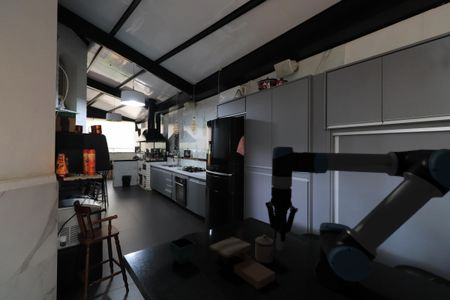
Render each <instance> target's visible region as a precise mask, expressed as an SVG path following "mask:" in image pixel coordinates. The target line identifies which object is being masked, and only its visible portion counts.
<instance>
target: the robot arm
mask: <svg viewBox="0 0 450 300" xmlns="http://www.w3.org/2000/svg"><path fill="white" fill-rule="evenodd" d="M271 156H272V157H271V158H272V159H271V161H272V163H271V193H270V196H271V198H270V200H269V201H266V202H265V204H264V205H265V207H266V209H267V213H268V221H269V227H270V228H271V229H272V230H274V239H275V249H276V250H278V251H281V250H283V249H284V242H285V241H286V237H287V236H286V235H287V234H288V233H290V232H291V230H292V226H293V224H294V221H295V218H296V214H297V213H298V211H299V208H298V207H295V206H294V205H293V202H292V197H293V196H292V195H293V194H292V193H293V192H292V191H293V189H292V186H293V173H305V174H307V173H309V174H326V173H327V172H328V171H330V172H350V173H351V172H352V173H371V174H372V173H373V174H374V173H375V174H387V175H388V176H389V177H401V178H403V180H402V181H401V182H399V184H398V185H397V186H396V187H394V189H392V190H391V192H389V194H387V195H386V196H385V197H384V198H383V199H382V200H381V201H380V202H379V203H378V204H377V205H376V206H374V208H373V209H372V210H371V211H370V212H368V213H367V215H366V216H364V218H362V219H361V220H360V221H359V222H358V223H357V224H356V225H355V226H354V227H353V228H351V227H350V226H348V225H346V224H343V223H342V224H341V223H337V222H321V223H320V225H319V229H318V231H319V236H318V238H319V239H318V240H319V243H318V258H317V261H316V264H315V266H314V268H313V276H314V279H315V280H316V281H317V282H318V284H319V283H320V284H321V285H323V286H324V287H327V288H328V289H330V290H333V291H338V292H339V291H340V292H349V291H352V290H354V289H355V287H356V285H355V284H356V283H355V282H360V281H363V280H365V279H366V278H367V277H368V276H369V275H370V274H371V270H372V269H371V267H372V265H371V263H372V262H373V261H374V260H375V259H376V258H377V257H378V256H377V255H378V254H377V252H378V251H377V249H378V248H380V246H382V244H384V243H385V242H386V241H387V240H388V239H389V238H391V237H392V236H393V234H394V233H396V231H398V230H399V229H400V228H401V227H402V226H403V225H405V224H406V223H407V222H408V221H409V220H410V219H411V218H412V217H413V216H414V215H415V214H417V213H418V212H419V211H421V209H422V208H423V207H424V206H425V205H427V203H428V202H430V200H432V199H434V198H444V197H445V196H446V195H447V194H448V193H449V192H450V149H449V148H439V149H430V148H429V149H427V148H426V149H421V148H420V149H412V150H405V151H404V150H403V151H402V150H401V151H400V150H399V151H388V152H387V153H360V152H359V153H355V152H354V153H352V152H308V151H302V152H298V151H295V150H294V148H293V146H274V147H273V149H272V155H271ZM288 211H289V214H288Z"/></svg>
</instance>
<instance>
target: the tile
mask: <svg viewBox="0 0 450 300" xmlns="http://www.w3.org/2000/svg"><path fill="white" fill-rule="evenodd" d="M233 272H234V274H236V275H237V276H239V277H240V278H241V279H243V280H244V281H245V282H246V283H248V284H250V285H251V286H252V287H253V288H255V289H256V290H260V289H262V288H263V287H265V286H267V285H269V284H271V283H273V282H274V281H275V279H276V277H275V276H276V272H275V271H273V270H271V269H269V268H268V267H266V266H264V265H263V264H262V263H260V262H258V261H257V260H255V259H252V257H251V258H250V259H248V260H245V261H244V260H242V261H241V262H238V263H236V264H234V265H233Z"/></svg>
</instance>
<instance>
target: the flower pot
mask: <svg viewBox="0 0 450 300" xmlns="http://www.w3.org/2000/svg"><path fill="white" fill-rule="evenodd" d="M195 246H196V242H195V241H193V240H191V239H189V238H187V237H186V236H184V237H180V238H178V239H174V240H172V241H170V242H169V247H170V254H171V257H172V259H173V260H174V262H175V263H177V264H179V265H180V266H181V265H184V264H186V263H188V262H189V261H190V260H191V259H192V258H193V256H194V252H195V248H196V247H195Z"/></svg>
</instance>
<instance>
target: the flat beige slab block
mask: <svg viewBox="0 0 450 300" xmlns="http://www.w3.org/2000/svg"><path fill="white" fill-rule="evenodd" d="M208 249H209V250H211V251H213V252H214V261H215V262H217V263H220V262H222V257H224V258H226V259H227V260H228V259H230V258H232V257H234V256H235V257H237V258H239V259H240V260H242V261H245V260H248V259H250V258H251V259H252V244H251V243H248V242H247V241H244V240H242V239H240V238H237V237H235V236H230V237H228V238H226V239H223V240H221V241H219V242H216V243H213V244H210V245H208Z"/></svg>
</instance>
